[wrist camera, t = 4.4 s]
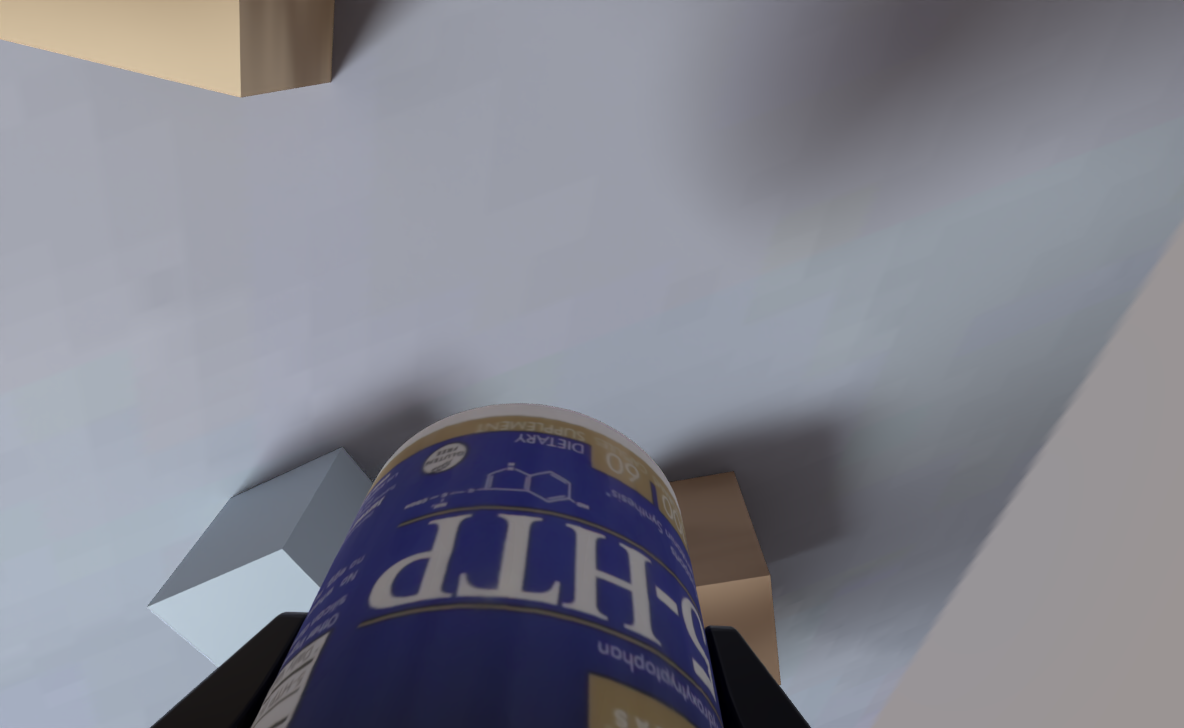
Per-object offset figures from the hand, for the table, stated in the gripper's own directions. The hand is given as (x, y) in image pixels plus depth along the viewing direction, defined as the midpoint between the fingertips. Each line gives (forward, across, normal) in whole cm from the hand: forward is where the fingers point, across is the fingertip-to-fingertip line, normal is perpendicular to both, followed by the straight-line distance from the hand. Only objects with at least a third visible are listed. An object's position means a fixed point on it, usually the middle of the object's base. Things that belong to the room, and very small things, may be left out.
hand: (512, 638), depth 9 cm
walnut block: (+12, -5, +9) cm, 16 cm away
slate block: (+12, +8, +9) cm, 17 cm away
